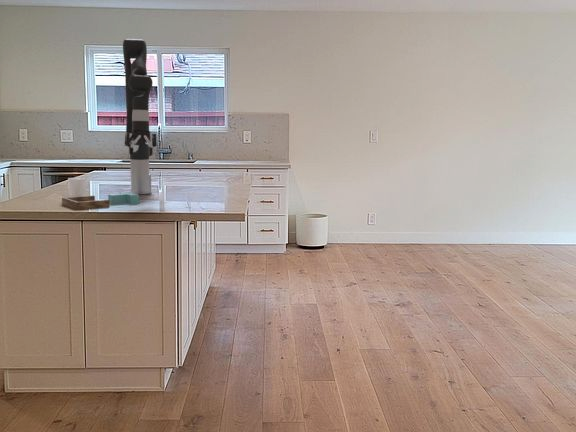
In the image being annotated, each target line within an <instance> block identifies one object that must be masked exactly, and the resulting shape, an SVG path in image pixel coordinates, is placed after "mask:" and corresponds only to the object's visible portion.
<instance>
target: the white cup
mask: <svg viewBox="0 0 576 432" xmlns="http://www.w3.org/2000/svg"><path fill="white" fill-rule="evenodd" d="M67 185H68V194H69V197H80V196H86V193H87V178H85V177H68V178H67Z"/></svg>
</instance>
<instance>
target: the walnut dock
mask: <svg viewBox="0 0 576 432" xmlns="http://www.w3.org/2000/svg"><path fill="white" fill-rule="evenodd" d="M61 204H62V206H65V207H69V208H71V209H74V210H87V209H88V210H89V209H102V208H110V206H111V204H109V200H108V199H99V200H96V196H95V195H85V196H80V197H70V196H66V197H65V196H64V197H61Z"/></svg>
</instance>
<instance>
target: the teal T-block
mask: <svg viewBox="0 0 576 432" xmlns="http://www.w3.org/2000/svg"><path fill="white" fill-rule="evenodd" d="M107 197H108V198H107V200H109V204H110V205H118V204H119V205H120V204H123V203H124V204H128V205H139V204H140V194H134V193H131V191H130V192H128V191H123V192H122V191H121V192H118V193H111V194H109V193H108V194H107ZM124 204H123V205H124Z"/></svg>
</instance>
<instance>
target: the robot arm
mask: <svg viewBox="0 0 576 432" xmlns="http://www.w3.org/2000/svg"><path fill="white" fill-rule="evenodd" d="M147 50H148V49H147V43H146V41H145V39H140V38H138V39H137V38H125V39H123V41H122V51H123V52H122V53H123V62H124V64H123V65H124V74H125V83H124V84H125V100H126V102H125V103H126V122H125V123H126V124H125V125H126V126H125V133H124V134H125V135H124V147H125V146H126V147H127V148H128V154H129V158H130V160H129V161H130V162H129V163H130V193H134V194H138V195H147V194H152V174H151V173H150V157H152V155H153V149H154V147H157V134H156V133H153V132H152V133H151V131H150V112H149V103H150V102H149V101H150V94H151V90H152V88H153V79H152V77H151V76H149V75H148V70H147V59H148V58H147V57H148V51H147ZM131 60H133V61H132V62H131ZM134 146H138V149H137V150H136V151H134Z"/></svg>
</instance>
